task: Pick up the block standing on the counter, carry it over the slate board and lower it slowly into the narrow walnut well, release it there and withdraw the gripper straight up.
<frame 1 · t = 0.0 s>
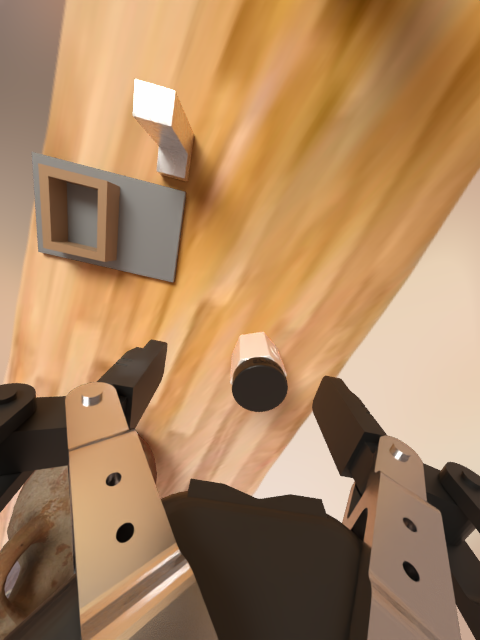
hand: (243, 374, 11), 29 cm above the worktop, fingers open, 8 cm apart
jug: (121, 439, 51), on the worktop
block: (178, 143, 32), on the worktop
jar: (254, 350, 44), on the worktop
board: (111, 223, 36), on the worktop
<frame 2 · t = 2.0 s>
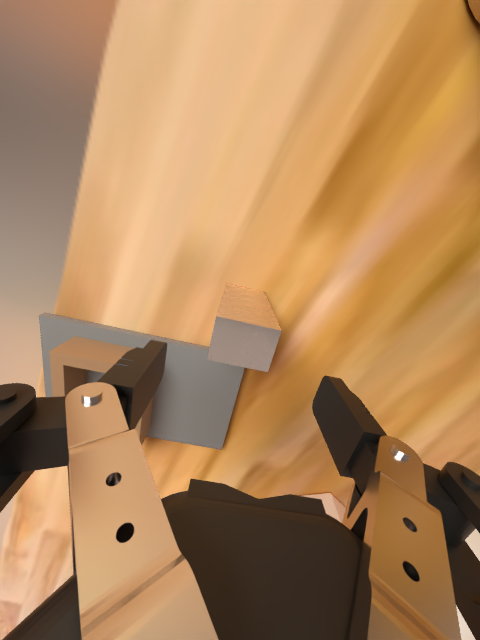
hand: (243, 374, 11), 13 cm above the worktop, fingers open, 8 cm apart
block: (242, 301, 23), on the worktop
jar: (315, 508, 35), on the worktop
board: (144, 386, 27), on the worktop
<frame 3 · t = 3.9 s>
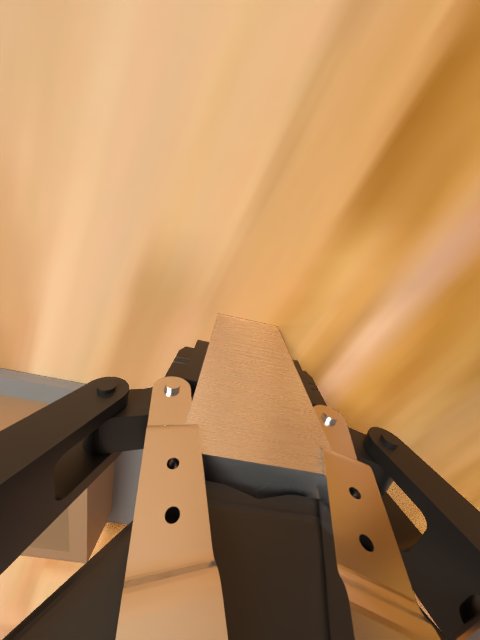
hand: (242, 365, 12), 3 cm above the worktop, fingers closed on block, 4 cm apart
block: (242, 340, 15), on the worktop, touching gripper
board: (101, 456, 19), on the worktop
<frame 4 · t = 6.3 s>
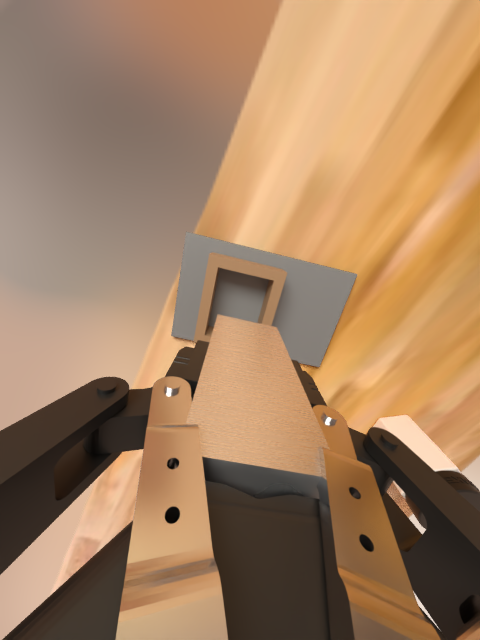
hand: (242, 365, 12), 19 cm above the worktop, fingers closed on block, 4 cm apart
block: (242, 341, 15), point 16 cm above the worktop, touching gripper
jar: (390, 432, 39), on the worktop
board: (259, 305, 31), on the worktop
when the fingers open (5 cm above the worktop, at t = 8.9 s): block stays where it is, resting on board.
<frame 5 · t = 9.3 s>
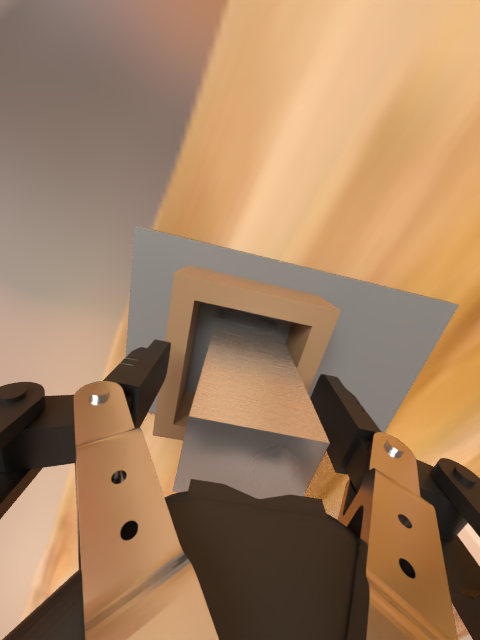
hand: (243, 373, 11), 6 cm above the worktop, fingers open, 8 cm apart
block: (242, 334, 16), point 1 cm above the worktop, touching board
jar: (468, 532, 25), on the worktop
board: (274, 355, 17), on the worktop
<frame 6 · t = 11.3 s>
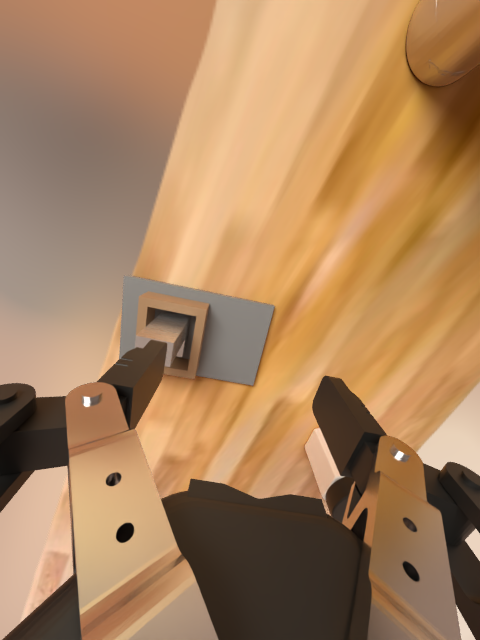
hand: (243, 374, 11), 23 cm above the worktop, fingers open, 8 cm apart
block: (176, 322, 34), point 1 cm above the worktop, touching board
jar: (326, 441, 43), on the worktop
board: (195, 333, 35), on the worktop
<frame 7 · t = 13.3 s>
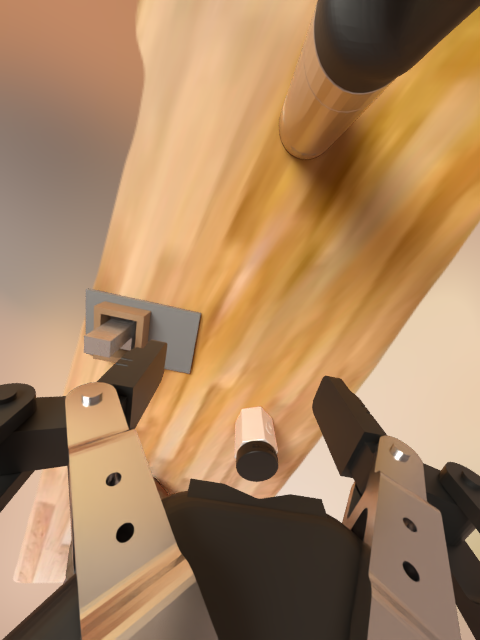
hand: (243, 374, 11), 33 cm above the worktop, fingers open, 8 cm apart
block: (127, 324, 45), point 1 cm above the worktop, touching board
jar: (253, 419, 54), on the worktop
board: (142, 332, 46), on the worktop
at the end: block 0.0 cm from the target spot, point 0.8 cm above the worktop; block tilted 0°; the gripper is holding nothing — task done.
